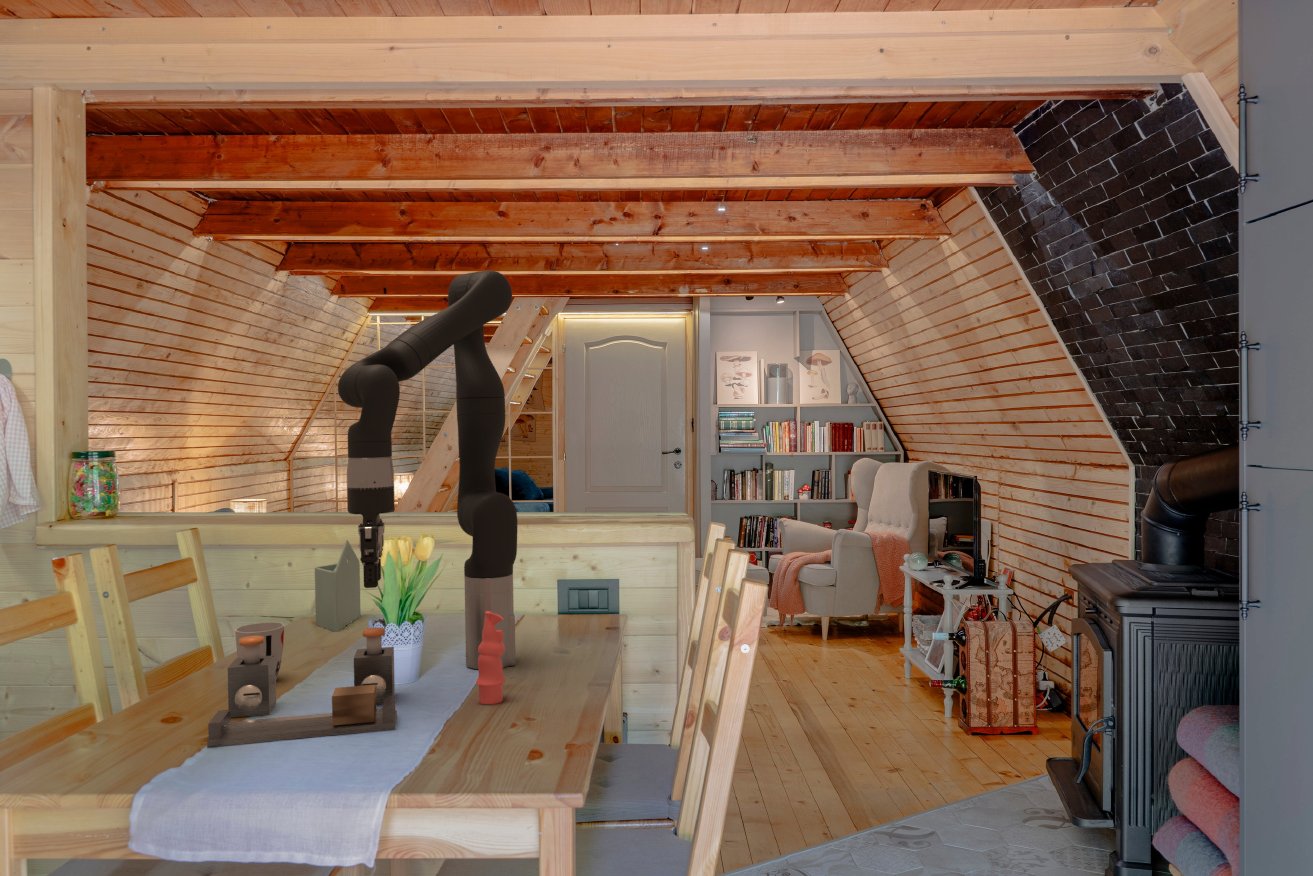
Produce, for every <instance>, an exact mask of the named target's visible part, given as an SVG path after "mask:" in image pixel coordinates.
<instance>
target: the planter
mask: <svg viewBox="0 0 1313 876" xmlns="http://www.w3.org/2000/svg"><path fill="white" fill-rule="evenodd" d="M360 563H361V562H360V559H359V557H358V556H357V554H356V553H355V551H354V549H353V548H352V545H351V544H350V541H349V540H347V539H346V540H345V542H344V544H343V548H342V550H341V553H340V556H339V559H338V562H337V563H335V564H327V565H321V566H315V567H314V595H315V596H314V599H315V600H314V601H315V603H314V605H315V607H314V608H315V625H316V626H318V627H320V628H322V627H323V628H322V629H326V630H329V631H331V632H334V633H338V632H339V631H341V630H342V628H343V629H344V628H346V627H347V626H348V625H350V624H351V623H352V622H351V621H353V620H354V621H356V620H357V619H359V618H360V617H361V576H360V575H361V571H360ZM354 621H353V622H354ZM350 622H351V623H350ZM349 623H350V624H349ZM347 624H348V625H347ZM346 625H347V626H346ZM345 626H346V627H345Z"/></svg>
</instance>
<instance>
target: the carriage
mask: <svg viewBox="0 0 1313 876" xmlns="http://www.w3.org/2000/svg"><path fill="white" fill-rule="evenodd" d="M375 709H378V708H377V705H376V685H364V686H354V685H353V686H339V687H335V688H334V690H333V693H332V696H331V711H332V712H331V713H332V724H333V725H344V724H355V723H366V722H375Z"/></svg>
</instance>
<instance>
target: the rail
mask: <svg viewBox="0 0 1313 876" xmlns="http://www.w3.org/2000/svg"><path fill="white" fill-rule="evenodd" d="M397 719H398V710H397V709H396V695H395V694H394V696H385V697H384V702H383V705H382V708H381V707H380V708H377V709H375V722H366V723H355V724H344V725H333V724H332V712H326V713H325V712H324V713H316V714H313V713H312V714H304V715H302V714H301V715H293V716H292V715H291V716H282V717H281V716H280V717H270V718H259V719H258V718H257V719H247V720H238V721H237V720H236V721H235V720H234V721H231V718H230V710H229V709H221V710H217V712H216V713H215V714H214V715H213V717H212V719H210V720H209V722H208V723H207V726H208V727H207V728H208V730H207V731H208V733H207V734H208V738H207V740H206V746H207V747H206V748H212V747H224V746H233V745H243V744H245V745H246V744H253V743H256V744H257V743H264V742H266V743H267V742H277V741H284V740H285V741H286V740H296V739H297V740H298V739H307V738H317V737H328V736H329V737H331V736H337V735H339V736H340V735H349V734H362V733H370V732H371V733H372V732H381V731H382V732H383V731H391V730H396V726H397Z"/></svg>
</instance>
